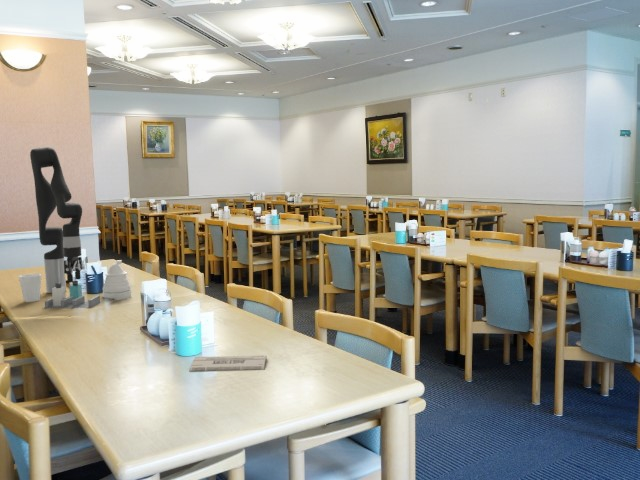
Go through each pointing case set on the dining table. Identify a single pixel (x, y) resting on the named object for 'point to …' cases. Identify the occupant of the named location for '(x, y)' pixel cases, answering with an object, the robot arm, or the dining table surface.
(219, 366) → the newspaper
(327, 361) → the dining table surface
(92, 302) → the comb board
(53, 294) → the white plug
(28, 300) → the foam cup
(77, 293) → the teal plug
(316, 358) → the dining table surface
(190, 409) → the dining table surface
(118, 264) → the honey pot
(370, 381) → the dining table surface
